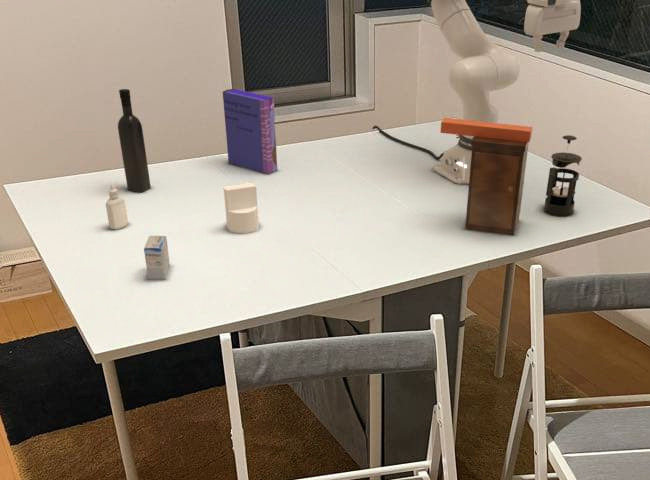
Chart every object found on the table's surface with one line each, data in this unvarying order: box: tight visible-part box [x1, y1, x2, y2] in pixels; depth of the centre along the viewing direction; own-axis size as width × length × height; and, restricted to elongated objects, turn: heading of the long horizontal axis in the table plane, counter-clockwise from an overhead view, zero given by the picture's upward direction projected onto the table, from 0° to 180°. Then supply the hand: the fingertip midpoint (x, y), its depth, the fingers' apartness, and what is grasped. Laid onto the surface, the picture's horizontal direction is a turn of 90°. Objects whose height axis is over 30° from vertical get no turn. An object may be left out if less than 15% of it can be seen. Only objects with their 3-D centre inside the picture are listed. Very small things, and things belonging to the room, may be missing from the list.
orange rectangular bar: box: [440, 117, 533, 143], centre depth 229 cm, size 25×4×3 cm, turn 76°
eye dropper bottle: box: [105, 184, 129, 231], centre depth 231 cm, size 4×6×12 cm
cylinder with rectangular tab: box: [223, 182, 260, 234], centre depth 233 cm, size 9×9×12 cm
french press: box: [542, 134, 583, 218], centre depth 248 cm, size 12×9×23 cm
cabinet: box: [464, 137, 530, 236], centre depth 236 cm, size 15×13×26 cm
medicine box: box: [143, 235, 171, 281], centre depth 208 cm, size 8×4×9 cm, turn 5°
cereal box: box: [222, 88, 278, 175], centre depth 272 cm, size 17×5×24 cm, turn 58°
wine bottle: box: [117, 88, 152, 193], centre depth 250 cm, size 6×6×30 cm
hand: (549, 49), depth 231 cm, fingers open, 8 cm apart
